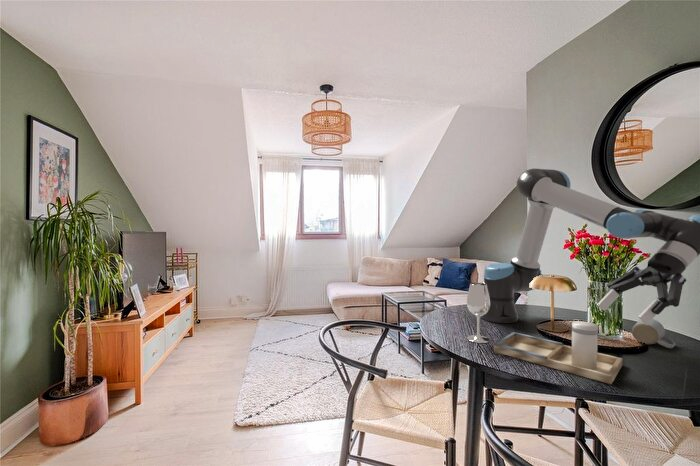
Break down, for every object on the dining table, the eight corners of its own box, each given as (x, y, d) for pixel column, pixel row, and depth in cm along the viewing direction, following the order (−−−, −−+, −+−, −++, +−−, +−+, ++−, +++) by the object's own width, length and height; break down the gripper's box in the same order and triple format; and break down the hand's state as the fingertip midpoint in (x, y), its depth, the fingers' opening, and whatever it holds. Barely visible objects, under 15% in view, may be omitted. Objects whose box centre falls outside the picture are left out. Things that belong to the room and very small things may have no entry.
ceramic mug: (630, 341, 115) (631, 320, 114) (636, 336, 120) (637, 315, 119) (672, 351, 106) (673, 328, 106) (677, 345, 111) (678, 323, 111)
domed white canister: (568, 365, 96) (569, 324, 95) (574, 359, 100) (575, 319, 99) (594, 372, 91) (595, 329, 91) (599, 365, 95) (600, 324, 95)
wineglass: (491, 344, 113) (491, 286, 113) (466, 342, 116) (466, 285, 115) (489, 337, 121) (489, 282, 120) (466, 334, 123) (466, 281, 123)
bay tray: (493, 352, 106) (493, 343, 106) (513, 340, 117) (513, 331, 117) (611, 386, 84) (611, 374, 84) (622, 366, 95) (622, 356, 95)
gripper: (731, 276, 83) (673, 337, 83) (639, 264, 108) (594, 310, 108) (711, 255, 83) (653, 316, 83) (624, 248, 108) (579, 295, 107)
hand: (620, 313), depth 95 cm, fingers open, 13 cm apart
